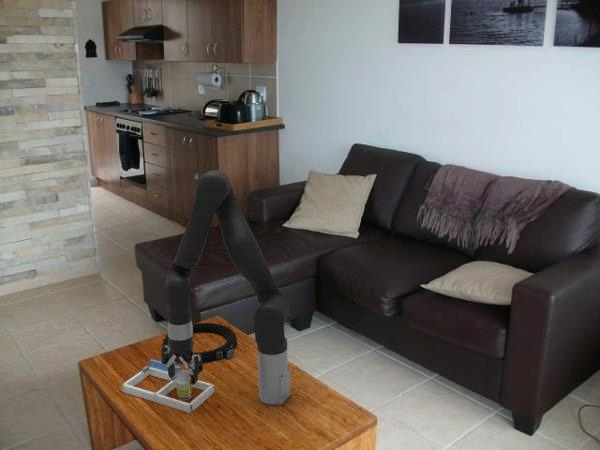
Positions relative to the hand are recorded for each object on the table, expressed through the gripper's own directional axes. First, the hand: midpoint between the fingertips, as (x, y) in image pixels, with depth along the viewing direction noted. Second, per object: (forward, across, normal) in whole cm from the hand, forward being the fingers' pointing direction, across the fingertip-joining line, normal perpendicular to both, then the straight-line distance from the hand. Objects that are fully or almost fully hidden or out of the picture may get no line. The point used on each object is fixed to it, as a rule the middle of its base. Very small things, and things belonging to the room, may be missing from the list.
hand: (182, 380), depth 184 cm
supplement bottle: (+6, -1, 0) cm, 6 cm away
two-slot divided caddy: (+6, +6, 0) cm, 8 cm away
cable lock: (+6, +14, -30) cm, 33 cm away
